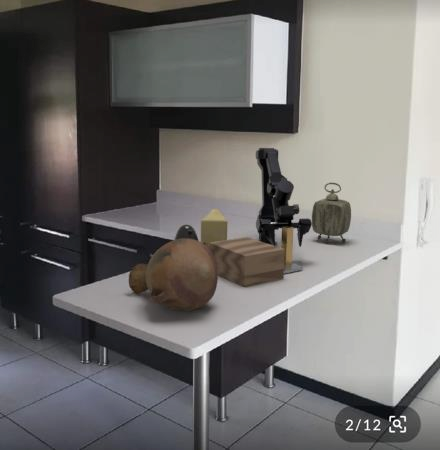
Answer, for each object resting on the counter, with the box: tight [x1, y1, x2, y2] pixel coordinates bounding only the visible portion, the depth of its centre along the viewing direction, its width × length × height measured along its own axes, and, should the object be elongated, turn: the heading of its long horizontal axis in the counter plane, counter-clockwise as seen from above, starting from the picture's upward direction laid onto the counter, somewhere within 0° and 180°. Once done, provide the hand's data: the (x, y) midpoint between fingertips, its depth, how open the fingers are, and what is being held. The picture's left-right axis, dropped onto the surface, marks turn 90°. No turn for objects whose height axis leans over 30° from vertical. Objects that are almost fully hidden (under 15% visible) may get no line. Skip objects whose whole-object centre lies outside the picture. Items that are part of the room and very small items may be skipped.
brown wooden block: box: [209, 236, 285, 288], centre depth 185 cm, size 20×16×10 cm
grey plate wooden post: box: [280, 226, 304, 275], centre depth 189 cm, size 26×13×14 cm, turn 125°
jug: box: [128, 238, 219, 311], centre depth 157 cm, size 20×20×30 cm
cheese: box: [200, 208, 228, 245], centre depth 215 cm, size 22×10×15 cm, turn 179°
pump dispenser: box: [174, 223, 199, 241], centre depth 192 cm, size 10×10×15 cm
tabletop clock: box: [311, 182, 352, 244], centre depth 231 cm, size 14×9×25 cm, turn 61°
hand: (287, 246), depth 194 cm, fingers open, 9 cm apart
